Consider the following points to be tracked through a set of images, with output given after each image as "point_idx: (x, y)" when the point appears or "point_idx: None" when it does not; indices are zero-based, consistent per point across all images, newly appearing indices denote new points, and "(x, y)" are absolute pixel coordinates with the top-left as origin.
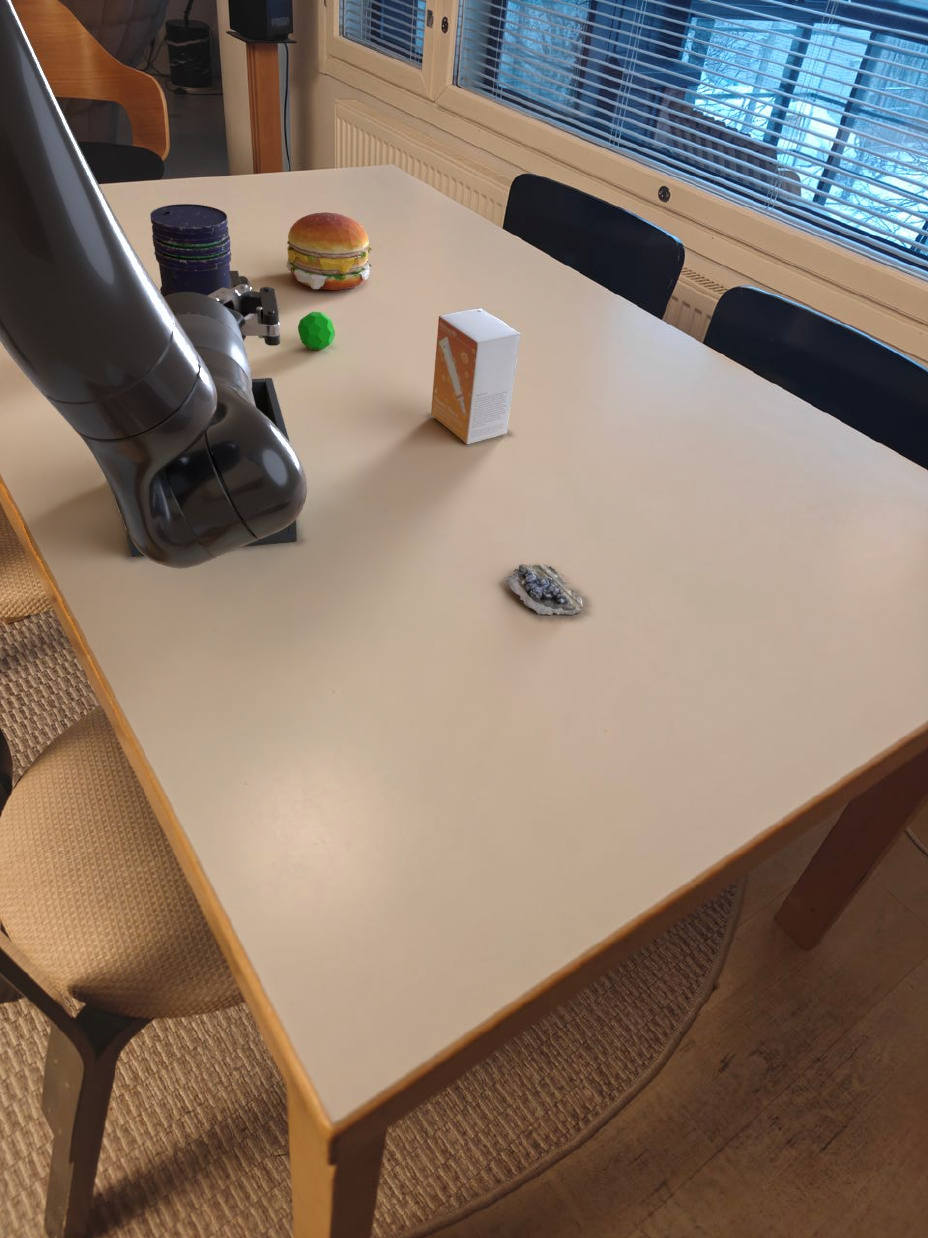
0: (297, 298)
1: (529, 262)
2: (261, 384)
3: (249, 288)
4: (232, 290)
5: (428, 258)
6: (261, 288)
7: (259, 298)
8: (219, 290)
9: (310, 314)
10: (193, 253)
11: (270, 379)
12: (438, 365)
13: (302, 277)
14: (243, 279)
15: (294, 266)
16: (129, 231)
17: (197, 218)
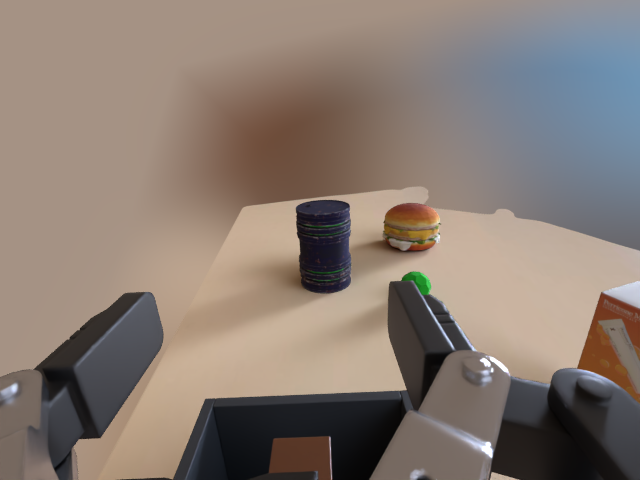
0: (391, 257)
1: (543, 227)
2: (396, 402)
3: (506, 383)
4: (472, 454)
5: (470, 227)
6: (560, 383)
7: (561, 435)
8: (399, 457)
9: (411, 274)
10: (323, 232)
11: (408, 394)
12: (593, 346)
13: (394, 243)
14: (433, 308)
15: (388, 236)
16: (293, 221)
17: (328, 208)
